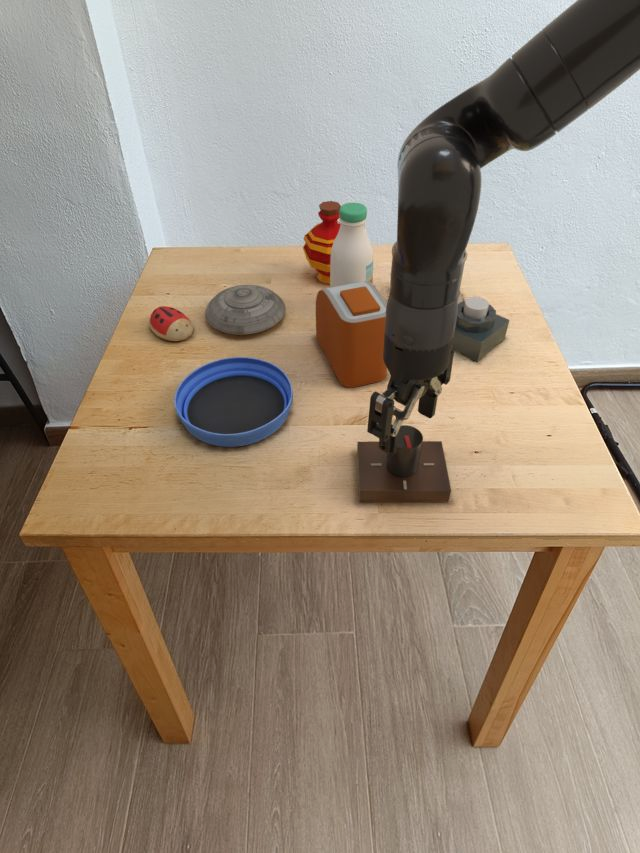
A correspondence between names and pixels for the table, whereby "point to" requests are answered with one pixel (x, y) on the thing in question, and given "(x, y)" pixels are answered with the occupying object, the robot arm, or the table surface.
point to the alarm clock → (352, 332)
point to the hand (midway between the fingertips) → (407, 432)
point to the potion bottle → (323, 240)
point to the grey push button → (476, 307)
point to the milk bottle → (351, 248)
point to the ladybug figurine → (170, 324)
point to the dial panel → (391, 488)
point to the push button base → (478, 333)
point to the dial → (406, 452)
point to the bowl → (234, 401)
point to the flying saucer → (245, 310)
